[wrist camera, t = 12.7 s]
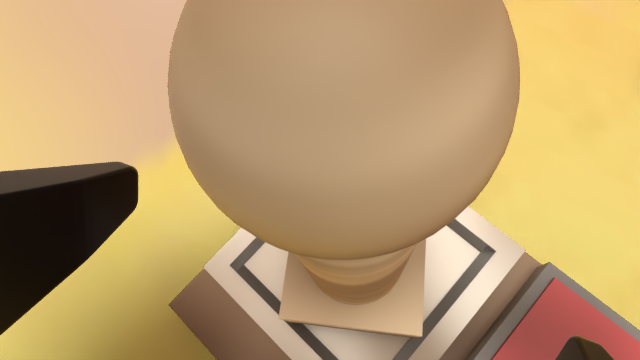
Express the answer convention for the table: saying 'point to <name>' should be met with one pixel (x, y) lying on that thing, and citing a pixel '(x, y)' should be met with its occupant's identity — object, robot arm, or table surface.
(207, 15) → the stamp
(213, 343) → the board
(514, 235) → the table surface
